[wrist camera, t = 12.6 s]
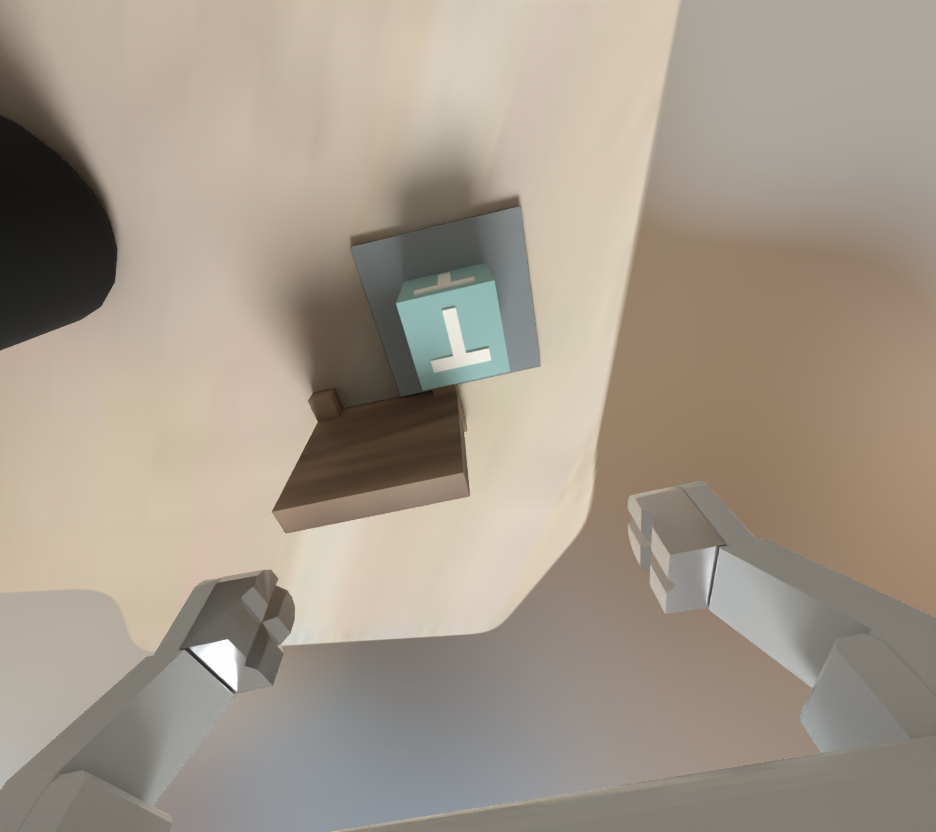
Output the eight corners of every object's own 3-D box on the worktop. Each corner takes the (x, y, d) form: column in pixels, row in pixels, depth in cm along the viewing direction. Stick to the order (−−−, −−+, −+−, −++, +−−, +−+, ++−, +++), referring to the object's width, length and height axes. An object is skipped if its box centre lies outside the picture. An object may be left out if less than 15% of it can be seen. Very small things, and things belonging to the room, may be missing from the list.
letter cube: (403, 280, 24) (395, 301, 19) (484, 260, 24) (494, 278, 19) (425, 356, 26) (422, 391, 22) (498, 340, 26) (510, 372, 22)
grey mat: (351, 246, 23) (349, 247, 23) (518, 205, 23) (520, 206, 22) (401, 393, 28) (400, 396, 28) (539, 363, 28) (540, 366, 27)
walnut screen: (312, 393, 28) (255, 487, 19) (451, 362, 27) (455, 445, 19) (339, 449, 30) (299, 554, 22) (466, 422, 30) (476, 519, 21)
